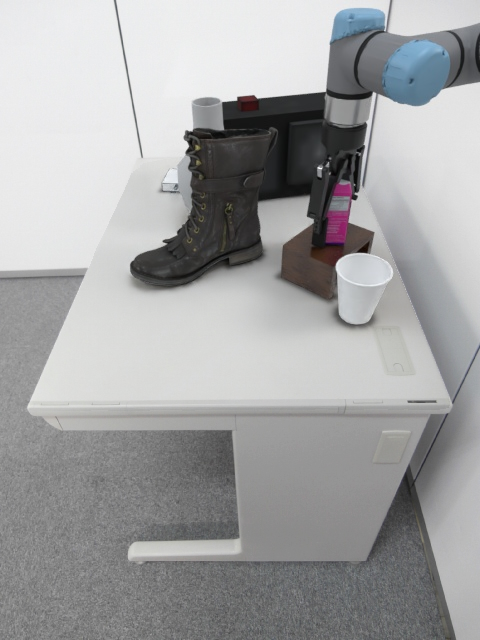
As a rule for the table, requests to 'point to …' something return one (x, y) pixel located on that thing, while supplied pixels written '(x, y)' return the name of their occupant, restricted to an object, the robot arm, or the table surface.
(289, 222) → the table surface
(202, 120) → the vase
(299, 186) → the speaker
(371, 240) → the brown wooden box
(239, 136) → the boot
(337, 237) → the supplement box
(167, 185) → the container
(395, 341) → the table surface
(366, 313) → the cup
